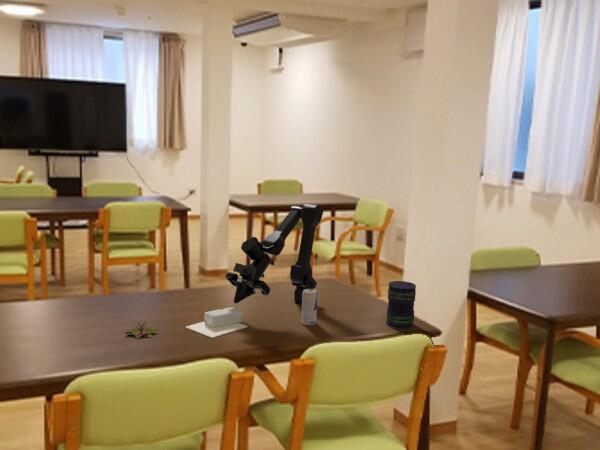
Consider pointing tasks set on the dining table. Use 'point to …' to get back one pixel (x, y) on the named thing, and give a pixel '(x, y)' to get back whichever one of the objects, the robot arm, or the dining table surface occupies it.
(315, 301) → the energy drink
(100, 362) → the dining table surface
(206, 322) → the skincare box
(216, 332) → the mat
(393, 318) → the storage jar
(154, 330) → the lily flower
